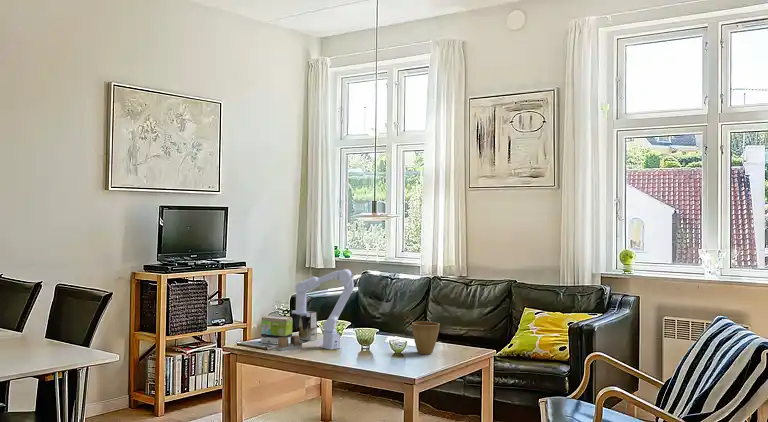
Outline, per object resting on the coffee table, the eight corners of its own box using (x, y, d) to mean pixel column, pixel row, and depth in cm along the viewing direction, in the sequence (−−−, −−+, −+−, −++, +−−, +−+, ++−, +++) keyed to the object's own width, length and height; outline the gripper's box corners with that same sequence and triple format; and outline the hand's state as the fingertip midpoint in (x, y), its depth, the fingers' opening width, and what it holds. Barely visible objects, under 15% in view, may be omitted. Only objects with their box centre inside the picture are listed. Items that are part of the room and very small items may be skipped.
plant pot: (437, 356, 364) (437, 325, 364) (409, 355, 367) (409, 324, 367) (440, 351, 379) (441, 322, 379) (413, 350, 382) (414, 320, 382)
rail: (302, 348, 380) (302, 336, 380) (280, 351, 370) (280, 338, 370) (296, 346, 384) (296, 334, 384) (275, 349, 374) (275, 337, 374)
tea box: (260, 343, 392) (261, 317, 392) (268, 340, 401) (269, 314, 401) (284, 345, 387) (285, 318, 387) (292, 342, 397) (293, 316, 397)
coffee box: (317, 339, 408) (317, 311, 408) (310, 341, 403) (311, 313, 403) (305, 337, 413) (305, 310, 413) (298, 339, 408) (298, 311, 408)
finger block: (299, 345, 379) (299, 336, 380) (293, 346, 377) (294, 336, 377) (295, 344, 382) (295, 335, 382) (290, 345, 380) (290, 336, 380)
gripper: (287, 302, 387) (286, 327, 387) (303, 305, 377) (302, 330, 377) (297, 302, 392) (297, 326, 392) (313, 304, 382) (313, 329, 381)
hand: (300, 328), depth 385 cm, fingers open, 7 cm apart
